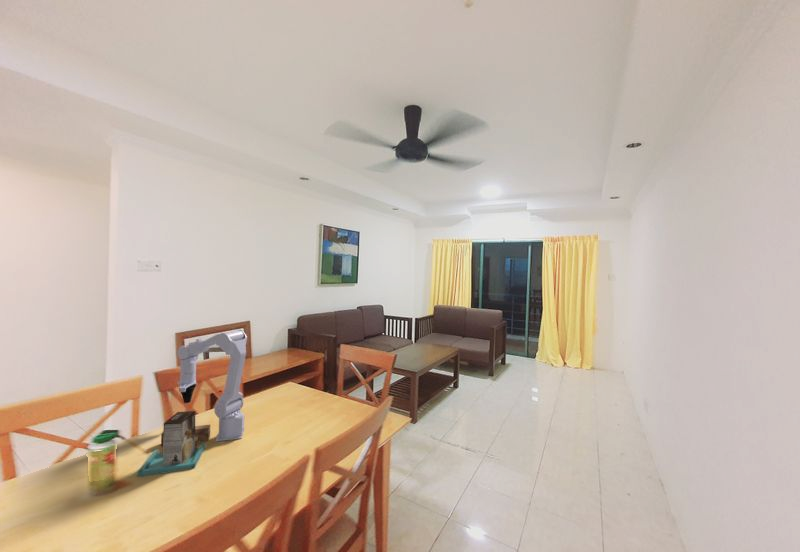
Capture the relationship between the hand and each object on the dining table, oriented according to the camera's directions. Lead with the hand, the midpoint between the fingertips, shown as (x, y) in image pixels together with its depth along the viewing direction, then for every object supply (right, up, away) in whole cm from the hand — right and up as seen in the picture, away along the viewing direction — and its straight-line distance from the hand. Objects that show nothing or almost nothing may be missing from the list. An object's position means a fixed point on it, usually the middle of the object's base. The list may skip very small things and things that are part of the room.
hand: (187, 402), depth 136 cm
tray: (+12, -11, -24) cm, 29 cm away
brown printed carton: (+9, -11, -16) cm, 21 cm away
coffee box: (+14, -11, -24) cm, 30 cm away
